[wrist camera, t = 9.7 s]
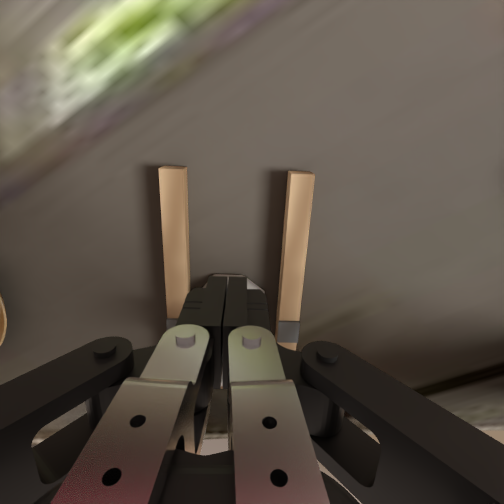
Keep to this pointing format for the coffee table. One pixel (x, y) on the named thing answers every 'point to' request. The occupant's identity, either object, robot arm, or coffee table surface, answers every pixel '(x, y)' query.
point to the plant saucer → (2, 320)
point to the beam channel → (291, 257)
